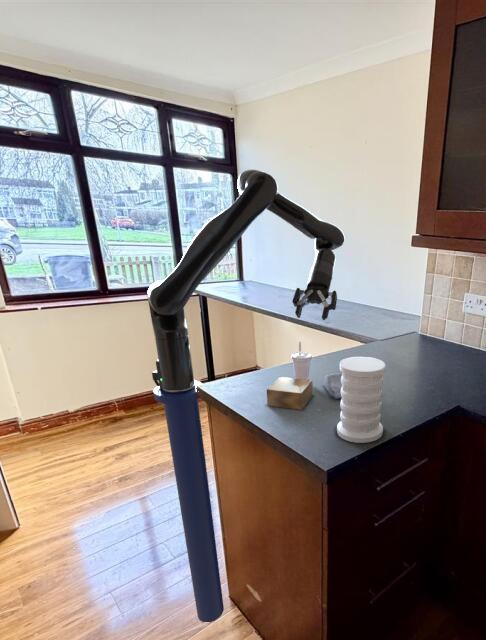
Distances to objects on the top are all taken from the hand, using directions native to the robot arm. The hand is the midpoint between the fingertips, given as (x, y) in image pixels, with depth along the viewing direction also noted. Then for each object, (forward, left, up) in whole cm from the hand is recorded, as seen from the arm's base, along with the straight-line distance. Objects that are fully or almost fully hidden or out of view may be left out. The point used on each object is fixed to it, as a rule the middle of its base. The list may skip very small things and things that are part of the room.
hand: (310, 317), depth 131 cm
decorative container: (+24, -36, -19) cm, 48 cm away
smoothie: (0, -10, -19) cm, 22 cm away
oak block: (+1, -23, -19) cm, 30 cm away
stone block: (+14, -12, -19) cm, 27 cm away
